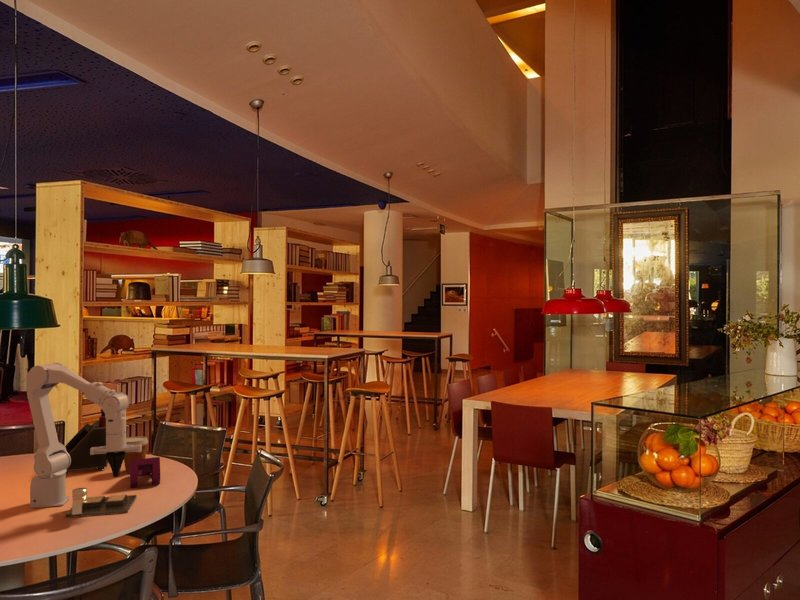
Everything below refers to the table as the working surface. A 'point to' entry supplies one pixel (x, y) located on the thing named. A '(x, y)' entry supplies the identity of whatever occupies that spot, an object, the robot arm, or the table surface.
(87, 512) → the tray
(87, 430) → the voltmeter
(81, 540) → the table surface
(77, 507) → the beige rectangular bar
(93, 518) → the table surface
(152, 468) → the mounting bracket
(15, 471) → the table surface
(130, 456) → the disposable coffee cup
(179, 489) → the table surface
